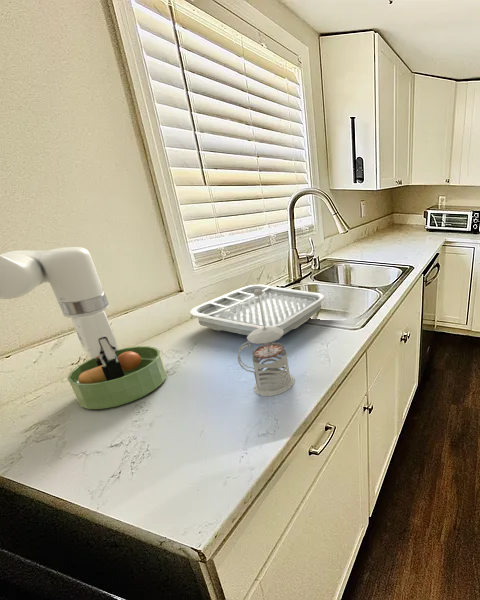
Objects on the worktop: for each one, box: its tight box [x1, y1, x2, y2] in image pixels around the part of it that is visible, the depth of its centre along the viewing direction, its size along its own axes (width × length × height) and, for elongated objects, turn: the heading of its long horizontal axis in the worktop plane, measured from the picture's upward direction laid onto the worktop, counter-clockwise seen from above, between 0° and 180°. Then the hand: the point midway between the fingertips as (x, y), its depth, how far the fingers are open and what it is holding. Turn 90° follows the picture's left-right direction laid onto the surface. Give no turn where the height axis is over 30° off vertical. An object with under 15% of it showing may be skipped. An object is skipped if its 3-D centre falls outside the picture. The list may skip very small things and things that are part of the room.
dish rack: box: [189, 284, 326, 336], centre depth 114 cm, size 32×37×8 cm
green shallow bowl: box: [66, 345, 167, 410], centre depth 79 cm, size 17×17×7 cm
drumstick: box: [78, 351, 141, 384], centre depth 77 cm, size 12×5×5 cm, turn 143°
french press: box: [237, 289, 296, 397], centre depth 76 cm, size 10×12×25 cm
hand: (113, 374), depth 78 cm, fingers closed on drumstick, 3 cm apart
